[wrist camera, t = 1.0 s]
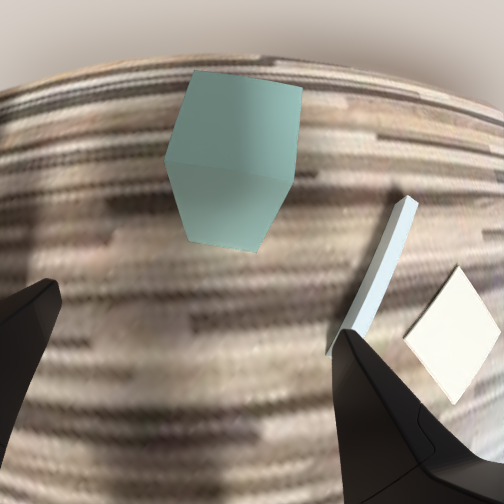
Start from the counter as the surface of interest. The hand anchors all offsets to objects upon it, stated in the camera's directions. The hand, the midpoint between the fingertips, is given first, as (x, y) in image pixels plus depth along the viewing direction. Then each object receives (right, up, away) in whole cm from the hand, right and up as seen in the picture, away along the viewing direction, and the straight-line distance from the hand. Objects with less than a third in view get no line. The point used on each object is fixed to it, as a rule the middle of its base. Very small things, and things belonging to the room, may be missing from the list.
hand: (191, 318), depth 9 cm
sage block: (0, +5, +15) cm, 16 cm away
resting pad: (+20, -6, +15) cm, 26 cm away
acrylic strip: (+11, 0, +15) cm, 19 cm away
